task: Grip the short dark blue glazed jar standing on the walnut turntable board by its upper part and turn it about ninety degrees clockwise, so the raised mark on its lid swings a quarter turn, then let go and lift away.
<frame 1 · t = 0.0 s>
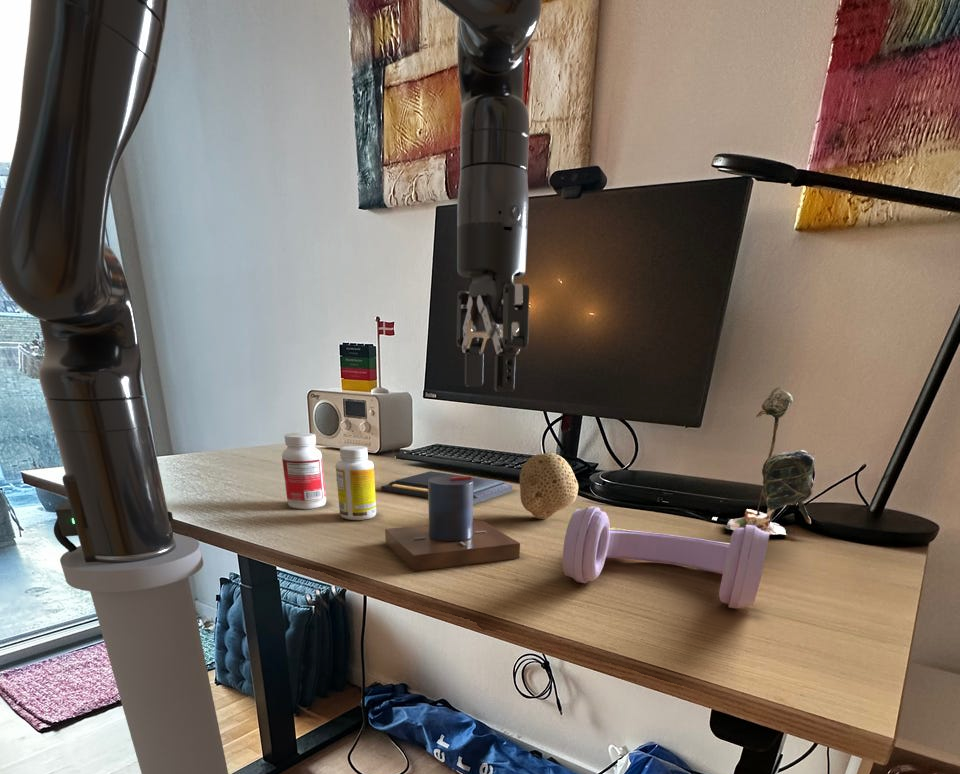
hand: (488, 389, 71), 19 cm above the table, tool pointing down, fingers open, 8 cm apart
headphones: (663, 577, 71), on the table
pill bottle: (307, 506, 99), on the table
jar: (450, 507, 76), point 6 cm above the table, hinge at 0.0°
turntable: (450, 550, 78), on the table
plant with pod: (763, 533, 89), on the table
supplement bottle: (358, 517, 93), on the table
dark blue book: (447, 491, 111), on the table
natural sponge: (545, 520, 94), on the table
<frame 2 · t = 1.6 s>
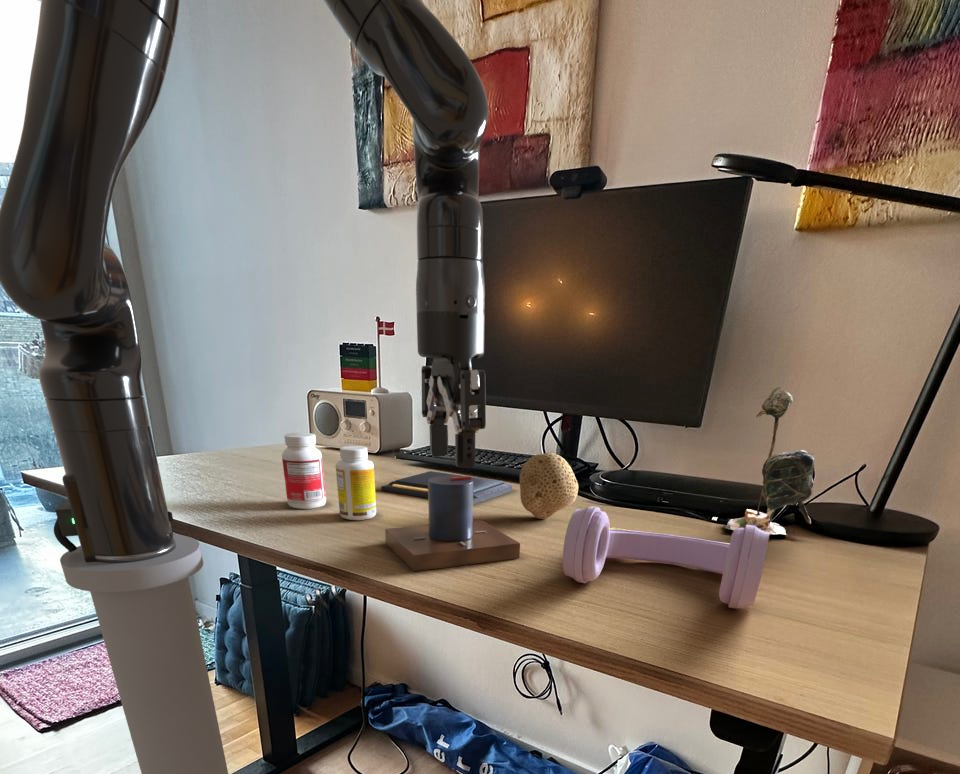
hand: (451, 461, 73), 11 cm above the table, tool pointing down, fingers open, 8 cm apart
nothing on the table moved.
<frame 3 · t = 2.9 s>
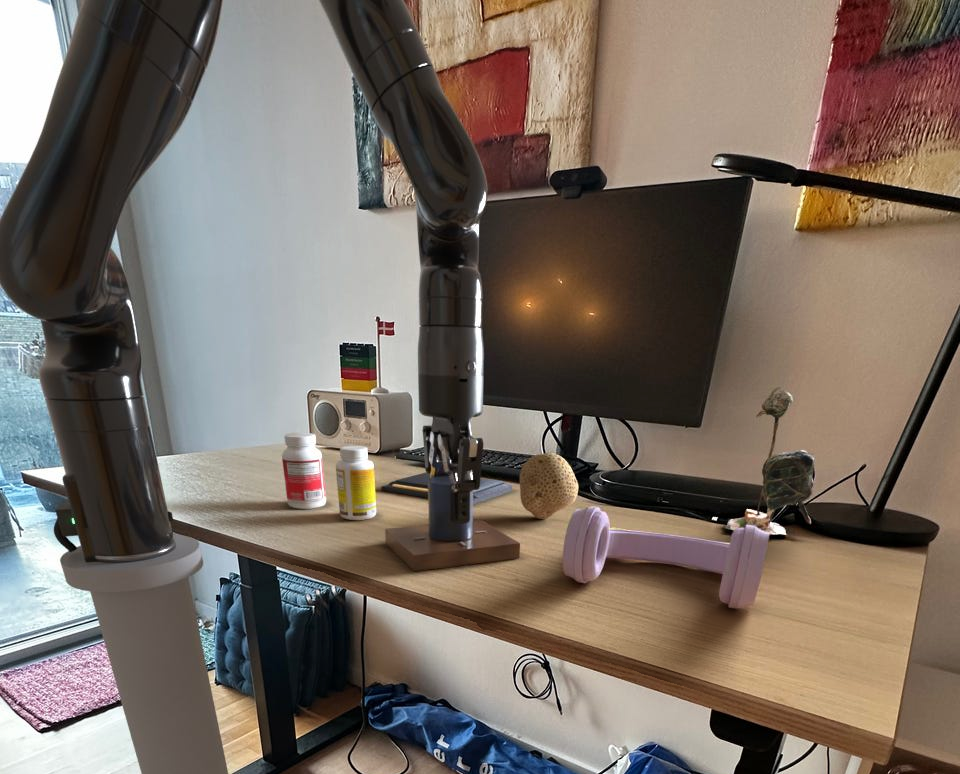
hand: (451, 516, 76), 5 cm above the table, tool pointing down, fingers closed on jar, 5 cm apart
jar: (450, 507, 76), point 6 cm above the table, hinge at 0.2°, touching gripper
everything else where it was.
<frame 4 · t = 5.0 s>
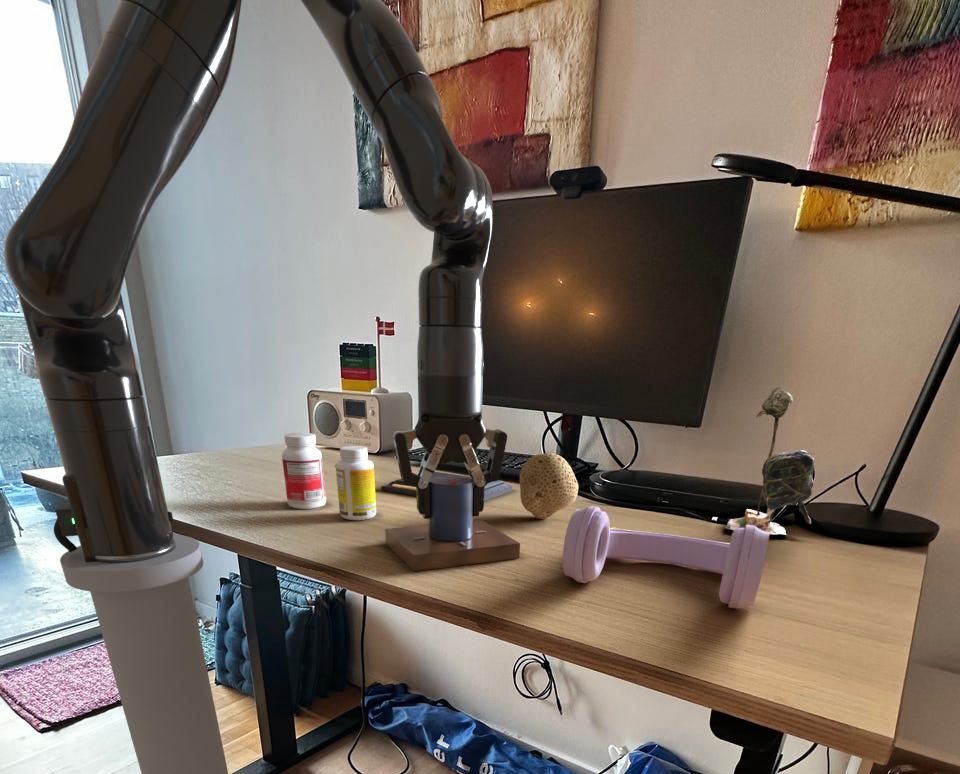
hand: (450, 515, 76), 5 cm above the table, tool pointing down, fingers closed on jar, 5 cm apart
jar: (450, 507, 76), point 6 cm above the table, hinge at -104.3°, touching gripper
everything else where it was.
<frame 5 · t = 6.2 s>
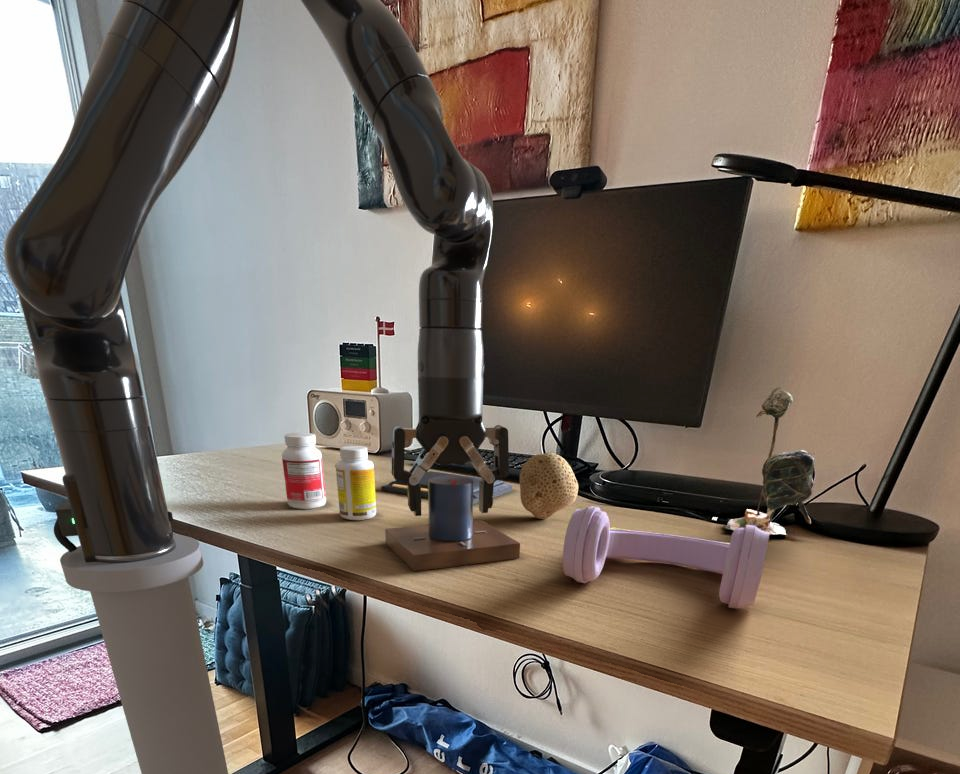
hand: (450, 513, 76), 5 cm above the table, tool pointing down, fingers open, 8 cm apart
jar: (450, 507, 76), point 6 cm above the table, hinge at -103.1°
everything else where it was.
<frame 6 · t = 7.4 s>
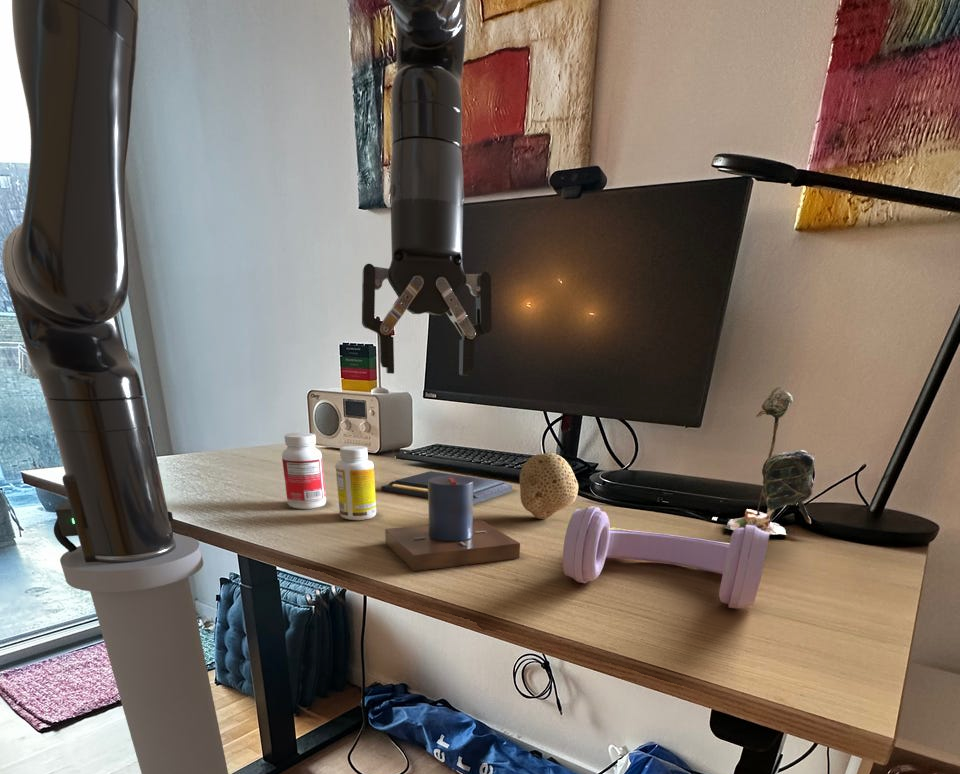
hand: (427, 374, 69), 21 cm above the table, tool pointing down, fingers open, 8 cm apart
nothing on the table moved.
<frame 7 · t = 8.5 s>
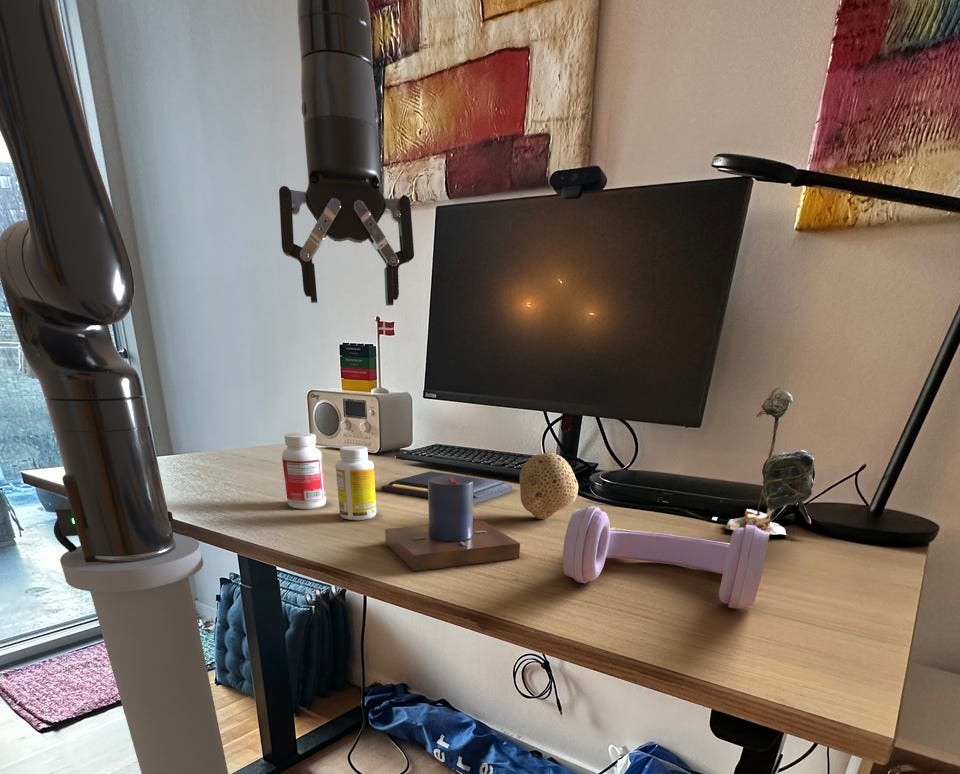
hand: (352, 303, 69), 28 cm above the table, tool pointing down, fingers open, 8 cm apart
nothing on the table moved.
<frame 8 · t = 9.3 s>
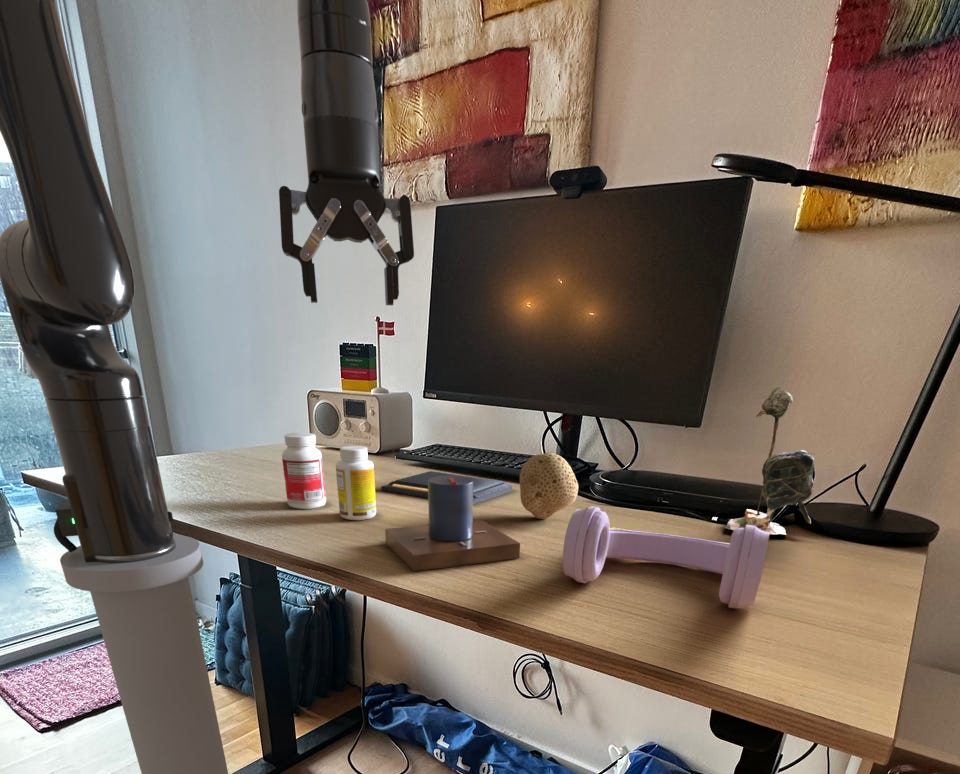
hand: (352, 303, 69), 28 cm above the table, tool pointing down, fingers open, 8 cm apart
nothing on the table moved.
at the end: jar at -103° (first picture: +0°); the gripper is holding nothing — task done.
